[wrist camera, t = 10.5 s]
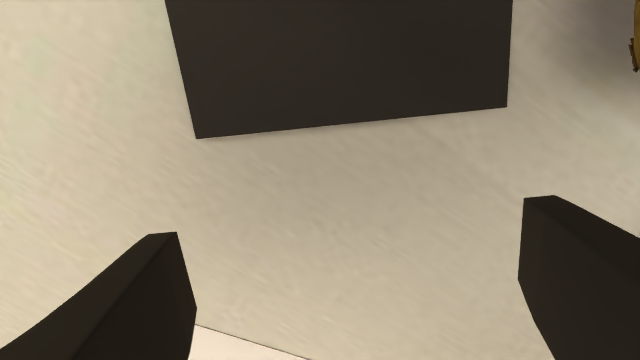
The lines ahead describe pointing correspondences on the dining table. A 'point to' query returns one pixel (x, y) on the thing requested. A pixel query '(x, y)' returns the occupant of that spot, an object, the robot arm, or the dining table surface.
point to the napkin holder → (230, 348)
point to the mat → (337, 60)
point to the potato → (636, 38)
